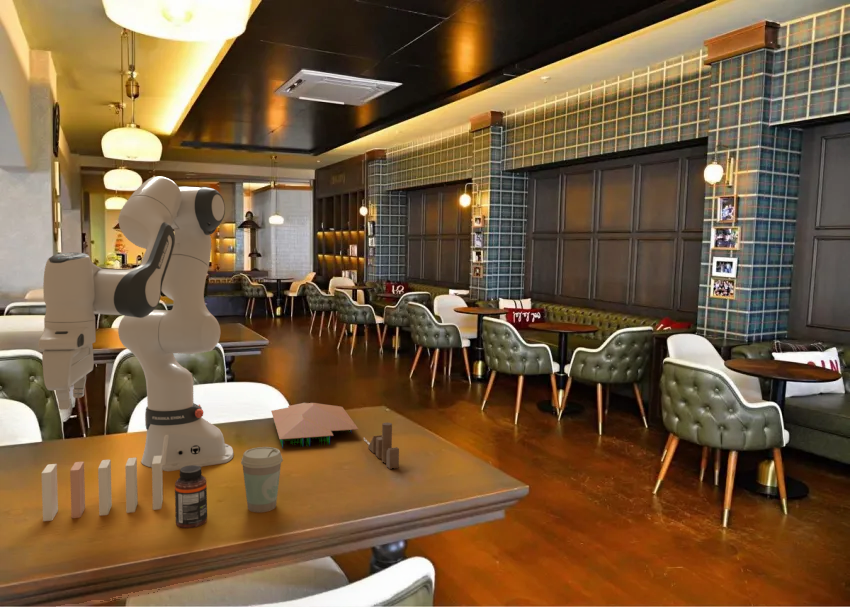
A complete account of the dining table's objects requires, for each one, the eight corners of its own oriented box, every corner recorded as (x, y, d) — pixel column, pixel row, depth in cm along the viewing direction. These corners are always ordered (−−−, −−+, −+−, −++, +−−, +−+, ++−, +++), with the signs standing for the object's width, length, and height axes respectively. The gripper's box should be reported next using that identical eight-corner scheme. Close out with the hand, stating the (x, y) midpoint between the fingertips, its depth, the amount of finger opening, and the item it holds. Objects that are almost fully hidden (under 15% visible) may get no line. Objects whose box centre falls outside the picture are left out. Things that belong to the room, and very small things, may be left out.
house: (340, 414, 209) (340, 390, 208) (361, 444, 178) (361, 416, 177) (270, 418, 202) (270, 393, 201) (279, 450, 171) (279, 421, 170)
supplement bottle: (180, 516, 127) (180, 463, 126) (210, 516, 128) (210, 462, 127) (171, 530, 121) (170, 473, 120) (202, 529, 122) (202, 473, 121)
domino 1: (85, 508, 130) (84, 461, 129) (80, 517, 126) (79, 469, 125) (76, 508, 130) (75, 462, 129) (71, 518, 125) (70, 470, 124)
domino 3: (137, 502, 133) (136, 457, 133) (134, 512, 129) (133, 465, 128) (129, 503, 133) (128, 458, 132) (126, 513, 128) (125, 466, 127)
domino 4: (162, 500, 135) (162, 455, 134) (161, 509, 130) (160, 463, 129) (154, 501, 135) (154, 456, 134) (152, 510, 130) (151, 463, 129)
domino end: (57, 510, 129) (56, 463, 128) (52, 521, 124) (50, 472, 123) (49, 511, 128) (47, 464, 127) (43, 521, 123) (41, 473, 122)
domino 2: (111, 505, 132) (110, 459, 131) (108, 515, 127) (106, 467, 126) (103, 506, 131) (102, 460, 130) (99, 516, 127) (98, 468, 126)
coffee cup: (261, 519, 127) (261, 462, 126) (232, 509, 131) (232, 453, 130) (290, 505, 134) (291, 450, 133) (262, 496, 139) (262, 443, 137)
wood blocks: (398, 469, 158) (399, 429, 157) (389, 470, 157) (390, 430, 156) (368, 440, 181) (368, 405, 180) (359, 441, 180) (360, 406, 179)
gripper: (68, 327, 133) (70, 391, 134) (35, 342, 113) (37, 416, 115) (100, 327, 135) (102, 390, 136) (73, 341, 115) (75, 415, 116)
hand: (72, 402), depth 125 cm, fingers open, 8 cm apart
